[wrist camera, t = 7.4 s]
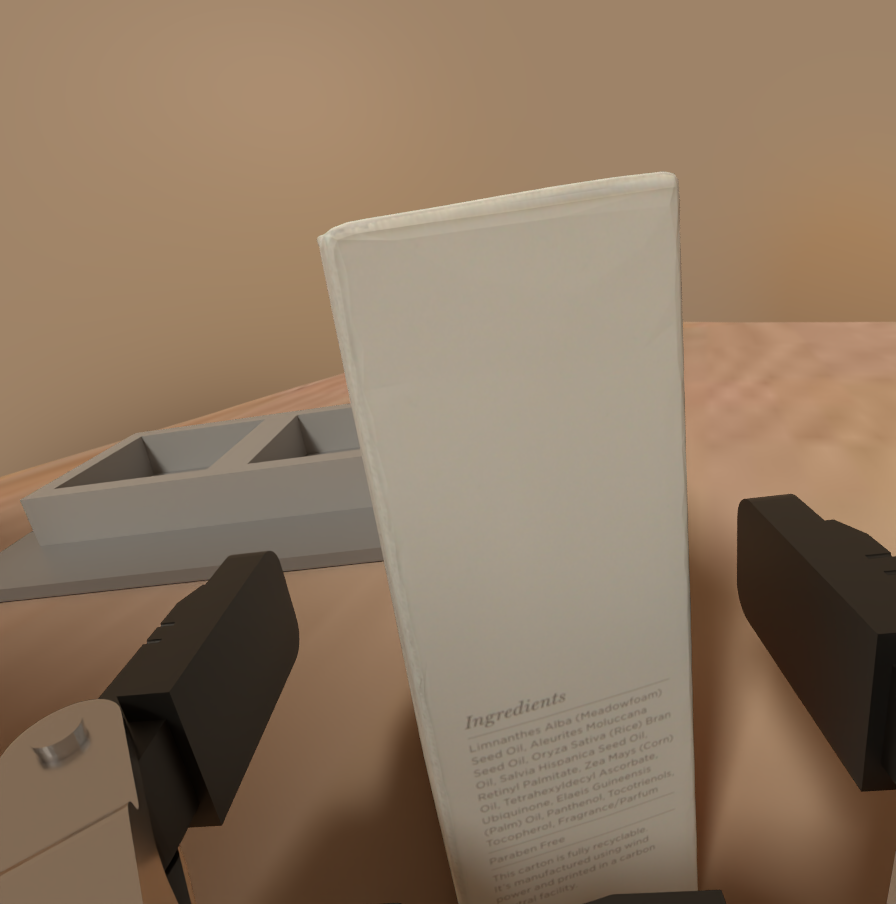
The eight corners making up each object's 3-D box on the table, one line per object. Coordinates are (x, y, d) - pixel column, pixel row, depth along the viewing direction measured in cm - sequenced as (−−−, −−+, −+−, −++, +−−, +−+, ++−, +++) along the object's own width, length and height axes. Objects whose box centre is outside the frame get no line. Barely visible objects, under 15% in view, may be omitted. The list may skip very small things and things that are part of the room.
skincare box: (709, 906, 10) (698, 161, 6) (476, 992, 10) (305, 224, 6) (570, 680, 16) (519, 207, 12) (417, 724, 16) (309, 241, 12)
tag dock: (-62, 608, 26) (-94, 546, 25) (154, 459, 43) (139, 418, 42) (487, 549, 23) (476, 476, 22) (486, 415, 40) (480, 370, 39)
